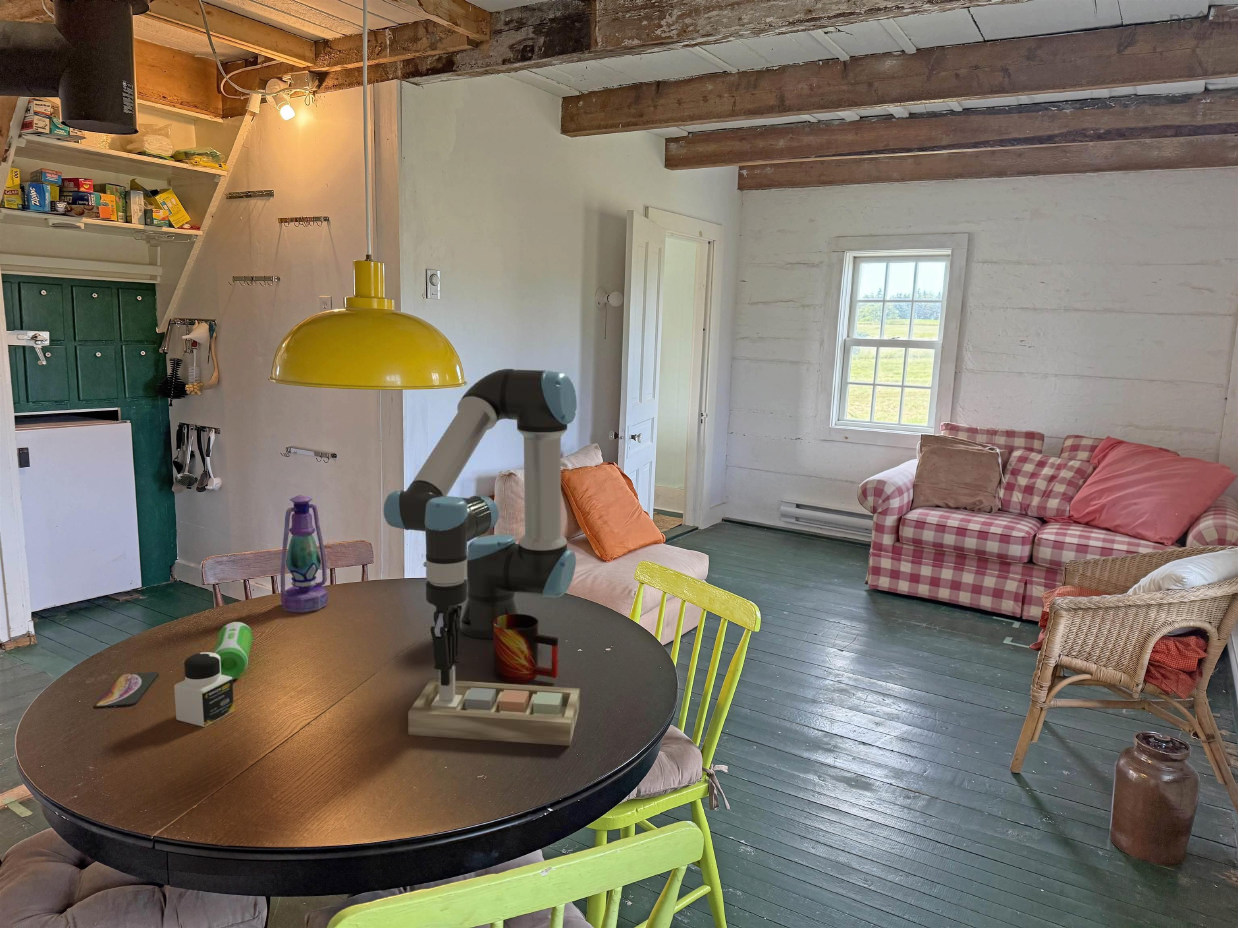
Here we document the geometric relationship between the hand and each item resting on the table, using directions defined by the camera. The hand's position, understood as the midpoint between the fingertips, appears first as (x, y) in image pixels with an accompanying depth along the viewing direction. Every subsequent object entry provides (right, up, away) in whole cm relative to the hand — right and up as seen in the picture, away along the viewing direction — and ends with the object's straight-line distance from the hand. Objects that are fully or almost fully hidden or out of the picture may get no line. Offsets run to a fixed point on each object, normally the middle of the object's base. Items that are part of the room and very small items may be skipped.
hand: (447, 697), depth 155 cm
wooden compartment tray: (+10, -4, 0) cm, 11 cm away
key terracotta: (+13, -1, -1) cm, 13 cm away
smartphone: (-66, -1, +8) cm, 67 cm away
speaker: (-51, +1, +21) cm, 55 cm away
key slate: (+6, -1, 0) cm, 7 cm away
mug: (+12, -1, +22) cm, 25 cm away
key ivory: (0, -2, 0) cm, 2 cm away
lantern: (-49, +7, +57) cm, 76 cm away
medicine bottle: (-46, -3, -1) cm, 46 cm away
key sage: (+19, -2, -1) cm, 20 cm away
